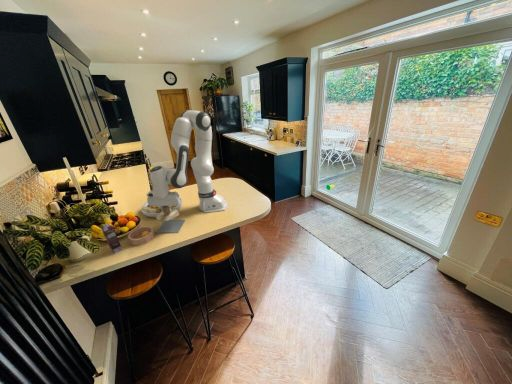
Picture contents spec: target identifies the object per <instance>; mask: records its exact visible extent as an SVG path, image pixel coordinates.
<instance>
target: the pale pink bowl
mask: <svg viewBox="0 0 512 384" xmlns="http://www.w3.org/2000/svg"><path fill="white" fill-rule="evenodd" d="M162 208H163V211H162V212H160V213H158V214H157V216H156V217H155V218H156V220H157V221H159V222H164V221H169V220H175V219H176V218H178V216H179V209H178V210H175V209H171V211H168V209H169V206H163V207H162Z"/></svg>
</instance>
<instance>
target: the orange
mask: <svg viewBox="0 0 512 384" xmlns="http://www.w3.org/2000/svg"><path fill="white" fill-rule="evenodd" d="M149 233H150V232H148V231H144V232H143V233H141V238H143V237H145V236H147V235H148V234H149Z"/></svg>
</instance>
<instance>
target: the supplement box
mask: <svg viewBox="0 0 512 384" xmlns="http://www.w3.org/2000/svg"><path fill="white" fill-rule="evenodd" d="M100 230H101V231H102V233H103V236H104V238H105V240H106V243H107V245H108V247H109V249H110V250H111V251H112V253H113V254H114V255H115V254H117V253H119V252H121V251H123V247H122V245H121V243H120V240H119V238H118V235H117V233H116V230H115V228H114V227H113V226H112V224H110V222H108V223H105V224H103V225H101V226H100Z"/></svg>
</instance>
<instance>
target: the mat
mask: <svg viewBox="0 0 512 384" xmlns="http://www.w3.org/2000/svg"><path fill="white" fill-rule="evenodd" d="M185 222H186V219H172V220H169V221H162V223H161V225H160V226H159V227H158V228H157V230H156V231H155V234H178V233H179V232H180V231H181V229H182V227H183V226H184V224H185Z"/></svg>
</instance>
